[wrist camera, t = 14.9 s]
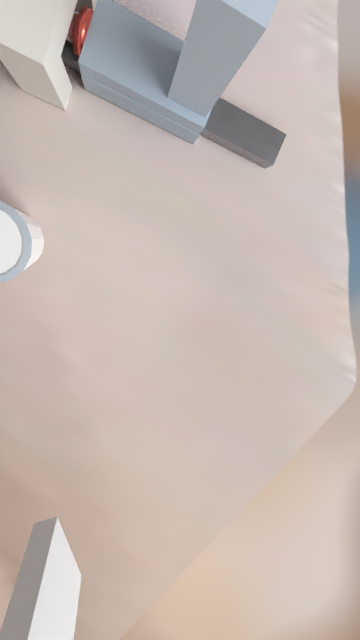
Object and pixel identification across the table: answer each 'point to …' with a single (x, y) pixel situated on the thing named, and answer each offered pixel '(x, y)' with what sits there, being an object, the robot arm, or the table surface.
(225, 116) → the rail
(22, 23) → the arch
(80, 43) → the plunger
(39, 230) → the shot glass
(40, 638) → the robot arm
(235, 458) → the table surface
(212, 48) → the carriage
